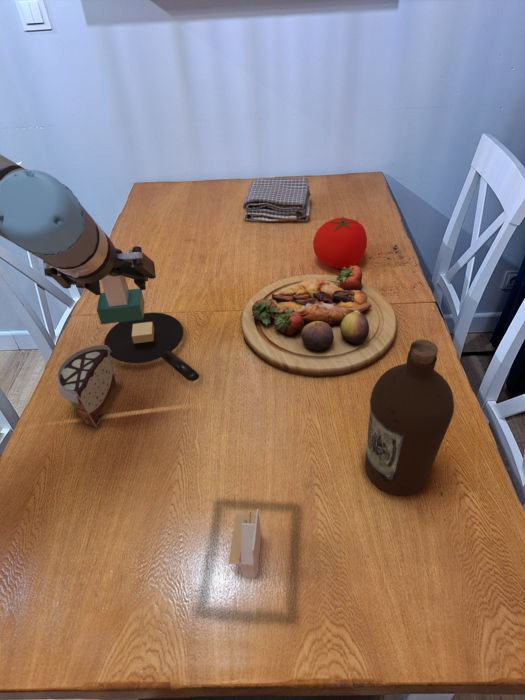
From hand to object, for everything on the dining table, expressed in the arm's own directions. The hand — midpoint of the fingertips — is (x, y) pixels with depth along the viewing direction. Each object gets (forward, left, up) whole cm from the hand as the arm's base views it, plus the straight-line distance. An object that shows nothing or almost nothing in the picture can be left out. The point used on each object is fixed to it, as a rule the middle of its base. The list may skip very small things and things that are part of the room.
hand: (120, 284), depth 84 cm
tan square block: (-2, +5, -16) cm, 17 cm away
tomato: (+31, +44, -18) cm, 57 cm away
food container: (-3, -13, -18) cm, 23 cm away
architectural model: (+33, -32, -18) cm, 49 cm away
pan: (+2, +3, -18) cm, 18 cm away
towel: (+9, +68, -18) cm, 70 cm away
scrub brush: (+1, -3, -3) cm, 5 cm away
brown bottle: (+50, -13, -18) cm, 55 cm away
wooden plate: (+31, +19, -18) cm, 41 cm away
